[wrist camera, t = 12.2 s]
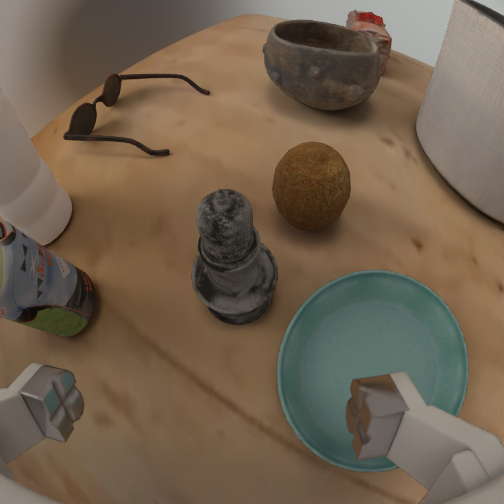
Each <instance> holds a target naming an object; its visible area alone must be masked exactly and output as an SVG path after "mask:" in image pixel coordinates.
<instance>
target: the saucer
mask: <svg viewBox="0 0 504 504" xmlns="http://www.w3.org/2000/svg"><path fill="white" fill-rule="evenodd" d="M398 371H404V372H406V373H407V375H408V376H409V378H410V379H411V381H412V382H413V384H414V385H415V387H416V389H417V390H418V392H419V393H420V395H421V396H422V398H423V400H424V401H425V403H426V404H427V406H430V405H433V406H435V407H437V408H439V409H441V410H443V411H445V412H447V413H449V414H452V415H454V416H456V417H457V416H458V414H459V412H460V409H461V407H462V405H463V402H464V398H465V394H466V391H467V385H468V373H469V365H468V354H467V347H466V343H465V339H464V336H463V334H462V330H461V328H460V326H459V324H458V322H457V320H456V318H455V316H454V314H453V313H452V311H451V310H450V308H449V307H448V306H447V305H446V303H445V302H444V301H443V300H442V299H441V298H440V297H439V296H438V295H437V294H436V293H435V292H434V291H433V290H431V289H430V288H429V287H427V286H426V285H424V284H423V283H421V282H419V281H417V280H415V279H413V278H411V277H409V276H407V275H403V274H400V273H397V272H393V271H386V270H364V271H357V272H352V273H349V274H346V275H343V276H340V277H338V278H336V279H334V280H332V281H330V282H328V283H326V284H325V285H323V286H322V287H320V288H319V289H318V290H317V291H315V292H314V293H313V294H312V295H311V296H310V297H309V298H308V299H307V300H306V301H305V302H304V303H303V304H302V305H301V306H300V308H299V309H298V311H297V312H296V313H295V315H294V316H293V318H292V320H291V322H290V324H289V326H288V327H287V330H286V332H285V334H284V337H283V340H282V343H281V346H280V351H279V355H278V362H277V387H278V394H279V398H280V402H281V406H282V409H283V412H284V414H285V417H286V419H287V421H288V423H289V425H290V427H291V428H292V430H293V432H294V433H295V434H296V436H297V437H298V438H299V439H300V441H301V442H302V443H303V444H304V445H305V446H306V447H307V448H308V449H309V450H311V451H312V452H313V453H314V454H316V455H317V456H318V457H320V458H322V459H323V460H325V461H327V462H329V463H331V464H333V465H335V466H338V467H341V468H344V469H347V470H352V471H357V472H383V471H388V470H392V469H396V468H399V467H398V466H397V465H396V464H394V463H393V462H392V461H391V460H389V459H388V458H387V456H382V457H377V458H371V459H365V460H358V461H357V457H356V454H355V451H354V448H353V445H352V442H353V438H354V435H353V434H351V433H350V432H349V431H348V428H347V424H346V406H347V401H348V400H349V399H350V398H351V397H352V395H351V392H350V386H351V382H352V380H353V379H355V378H362V377H370V376H377V375H383V374H387V373H393V372H398Z"/></svg>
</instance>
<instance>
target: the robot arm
mask: <svg viewBox="0 0 504 504" xmlns="http://www.w3.org/2000/svg"><path fill="white" fill-rule="evenodd" d="M75 384H76V379H75V377H74V375H73V373H72V372H71V371H69V370H65V369H61V368H56V367H52V366H48V365H42V364H38V363H32V364H30V365H29V366H28V367H27V368H26V369H25V370H24V371H23V372H22V373H21V374H20V375H19V376H18V378H17V379H16V380H15V381H14V382H13V383H12V384H11V385H10V386H9V387H8V388H7V389H6V388H3V389H0V504H64V503H62V502H59V501H57V500H54V499H52V498H49V497H47V496H45V495H43V494H40V493H38V492H36V491H34V490H32V489H30V488H28V487H26V486H24V485H22V484H20V483H18V482H16V481H14V480H13V478H14V476H15V475H14V472H13V471H12V470H11V468H10V467H9V466H8V465H7V463H9V462H10V461H12V460H13V459H15V458H16V457H18V456H19V455H21V454H22V453H24V452H25V451H27V450H28V449H30V448H31V447H33V446H34V445H36V444H37V443H39V442H40V441H42V440H43V439H45V437H48V438H51V439H54V440H57V441H61V442H64V443H66V441H67V440H68V438H69V436H70V435H71V433H72V431H73V430H74V427H73V423H74V422H76V421H78V420H79V419H80V418H81V416H82V414H83V410H84V400H83V396H82V394H81V392H80V391H79V390H78V389H77V388H76V387H75ZM350 392H351V395H352V397H351V398H350V399H349V400H348V401H347V406H346V424H347V428H348V431H349V432H350V433H351V434H353V435H354V438H353V442H352V445H353V448H354V451H355V454H356V457H357V461H358V460H365V459H371V458H377V457H382V456H387V458H388V459H389V460H391V461H392V462H393V463H394V464H396V465H397V466H398V467H399V468H401V469H402V470H403V471H404V472H406V473H407V474H408V475H409V476H411V477H412V478H413V479H414V480H416V481H417V482H418V483H420V484H421V485H422V486H423V487H425V488H426V489H427V490H429V491H428V492H427V493H426V495H425V496H424V497H423V499H422V500H421V501H420V502H419V504H504V445H503V444H502V442H501V441H500V439H499V438H498V437H497V435H495V434H493V433H490V432H488V431H486V430H484V429H481V428H479V427H477V426H475V425H473V424H471V423H468V422H466V421H464V420H462V419H460V418H458V417H456V416H454V415H452V414H449V413H447V412H445V411H443V410H441V409H439V408H437V407H435V406H433V405H430V406H427V404H426V403H425V401H424V400H423V398H422V396H421V395H420V393H419V392H418V390H417V389H416V387H415V385H414V384H413V382H412V381H411V379H410V378H409V376H408V375H407V373H406V372H404V371H398V372H393V373H387V374H383V375H377V376H370V377H362V378H355V379H353V380H352V382H351V386H350Z"/></svg>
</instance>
